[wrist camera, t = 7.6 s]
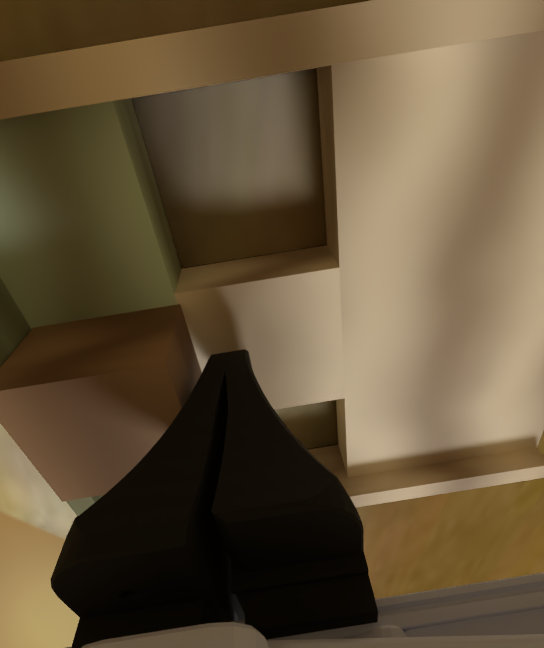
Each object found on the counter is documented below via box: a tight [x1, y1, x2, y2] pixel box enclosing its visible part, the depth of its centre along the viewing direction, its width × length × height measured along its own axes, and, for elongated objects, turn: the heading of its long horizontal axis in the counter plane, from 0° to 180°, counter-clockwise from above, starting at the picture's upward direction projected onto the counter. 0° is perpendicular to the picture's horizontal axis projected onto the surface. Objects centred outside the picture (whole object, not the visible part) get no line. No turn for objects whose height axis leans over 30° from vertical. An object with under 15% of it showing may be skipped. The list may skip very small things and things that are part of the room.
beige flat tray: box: [0, 0, 544, 516], centre depth 14 cm, size 21×19×4 cm
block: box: [0, 304, 202, 501], centre depth 12 cm, size 5×5×3 cm
